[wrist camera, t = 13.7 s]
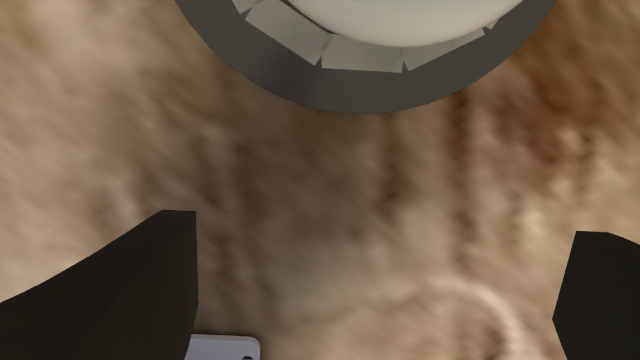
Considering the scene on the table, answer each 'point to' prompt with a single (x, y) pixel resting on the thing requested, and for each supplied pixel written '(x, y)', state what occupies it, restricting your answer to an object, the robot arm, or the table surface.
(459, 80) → the lamp base
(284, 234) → the table surface
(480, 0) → the lightbulb
